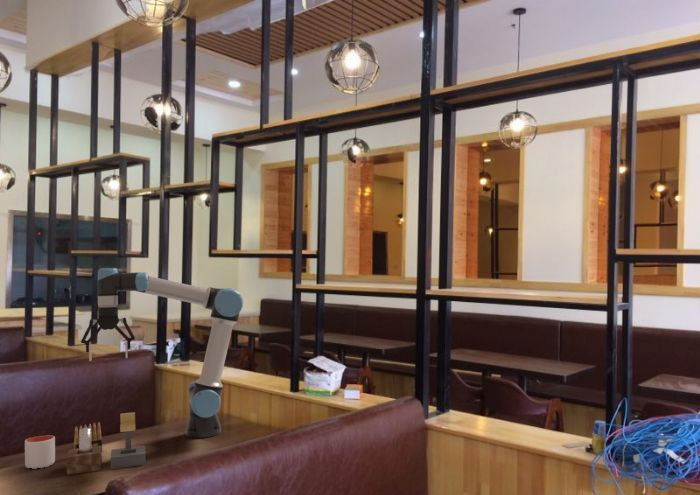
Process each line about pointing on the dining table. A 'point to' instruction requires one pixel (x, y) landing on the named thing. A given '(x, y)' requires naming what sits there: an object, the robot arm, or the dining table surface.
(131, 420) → the latch
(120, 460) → the socket block
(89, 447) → the peg
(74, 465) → the frame
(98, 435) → the ammunition clip
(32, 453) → the cup
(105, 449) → the dining table surface
